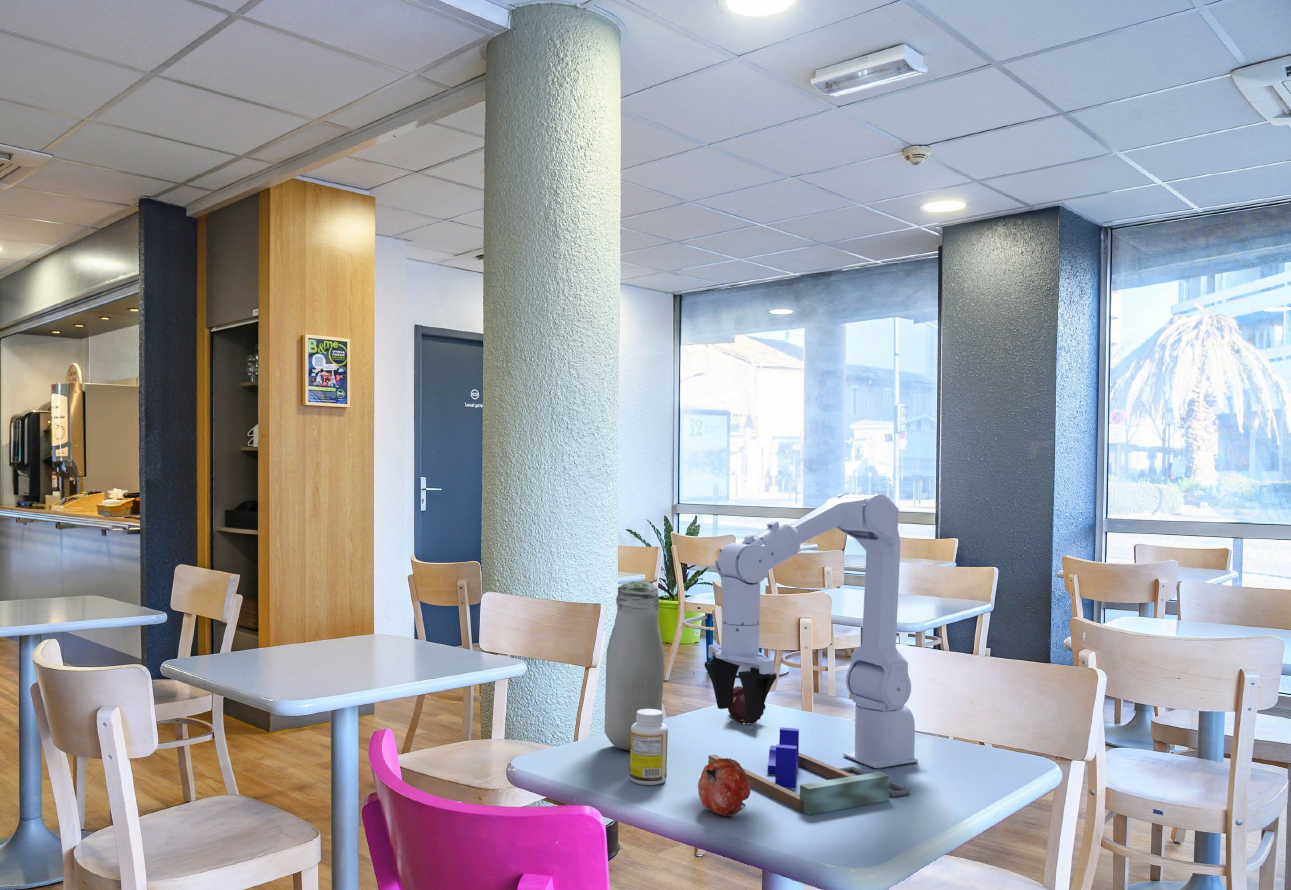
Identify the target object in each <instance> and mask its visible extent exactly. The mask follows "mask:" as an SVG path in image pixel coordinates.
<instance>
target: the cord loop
mask: <svg viewBox="0 0 1291 890" xmlns="http://www.w3.org/2000/svg"><path fill="white" fill-rule="evenodd" d="M839 769H840V770H842V771H845V772H847V773H850V772H853V773H856V774H858V775H863V774H869V773H870V772H867V771H865V770H862V769H860V768H857V767H855V766H847V767H842V768H839ZM889 788H891V789H894V790H895V791H892V790H890V789H889V797H892V798H894V797H900V796H905V795H907V796H908V795H909V794H911V790H910V789H909V788H907V787H905V786H902V785H900V784H897V783H894V782H892V781H890V780H889Z"/></svg>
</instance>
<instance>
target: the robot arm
mask: <svg viewBox="0 0 1291 890" xmlns="http://www.w3.org/2000/svg"><path fill="white" fill-rule="evenodd" d="M899 511H900V510H899V508H898V506H896V504H895V503H894V502H893V501H892V499H890V497H888V496H887V495H885V494H881V493H879V494H850V493H840V494H838V495H837V496H836V497H831V498H828V499H827V501H826V502H825V503H824V504H822V505H820V506H819V507H816V508H815V509H814V510H812V511H811V512H808V513H807V514H806V515H804V516H802V517H800V518H799V519H797V520H795V521H794V522H792V523H791V524H789V523H786V522H784V521H774V520H773V521H770V522H768V523H767V524H766V527H767V528H765V529H763V530H762V531H759V532H758V533H755V534H754V535H753V534H747V535H746V536H744V540H743V541H742V542H741V543H737V542H735V543H734V542H732V543H728V544H726V545H725V546H723V548H722V550H721V551H720V552H719V555H718V558H717V560H715V561H714V566H715V570H716V573H717V574H718V575H719V577H720V587H721V588H722V590H721V591H722V599H721V601H722V602H721V641H720V642H721V643H720V644H709V645H708V649H707V650H708V653H707V654H708V658H710V659H711V660H710V661H709V660H708V661H705V662H704V668H705V669H706V671H707V673H708V675H709V679H710V680H711V683H712V684H711V685H712V688H713V691H714V697H715V702H716V706H717V709H719V710H725V709H728V708H731V706H732V702H733V692H734V688H735V683H736V677H737V674H738V677H739V680H740V683H741V687H743V691H744V699H745V714H746V719H747V720H749V721H751V720H757V721H758V720H761V719H762V718H761V717H762V716H761V714H762V711H763V707H764V704H765V703H766V700H767V697H768V694H769V692H770V690H771V688H772V686H773V684H774V683H775V682H776V679H777V675H778V674H777V673H776V672H775V660H774V659H771V658H769V657H767V656H766V655H765V654H762V653H761V652H760V621H761V619H760V618H761V617H760V616H761V615H760V613H761V582H764V580H765V579H766V577H767V576H768V574H769V571H770V570H771V569H773V568H775V567H776V566H778V565H780V564H783V563H784V562H786V561H788V560H789V559H791V558H792V557H795V556H796V555H798V554H799V552H800V550H801V544H802V543H806V542H807V541H809V540H812V539H814V538H815V537H817V536H820V535H822V534H825V533H826V532H828V531H830V530H833V529H835V528H836V530H837V529H838V531H840V532H842V533H844V534H845V535H847V536H849V537H851V538H853V539H855V540H856V541H857V542H858V543H859V545H860V546H861V547H862V548H863V549H864V551H865V553H866V555H865V573H864V575H865V577H864V591H863V592H864V594H863V595H864V596H863V597H864V598H863V611H862V612H863V614H862V615H863V616H862V631H861V632H862V633H861V635H862V638H861V645H860V646H859V647H857V648H856V649H855V650H854V651H853V652H852V653H851V654H850V655H851V657H850V664H849V668H848V670H847V672H846V676H845V684H846V688H847V691H848V692H849V694H850V695H852V703H855V711H854V712H855V713H854V714H855V715H854V716H855V717H854V718H855V719H854V720H855V723H854V727H855V728H854V751H853V750H852V751H847V752H843V754H842V755H843V757H845V758H848V759H850V760H853V761H856V762H858V763H861V764H864V765H866V766H869V767H872V768H874V769H881V768H887V767H894V766H899V765H906V764H913V763H918V762H919V759H918V758H917V757H915V737H916V736H915V735H916V734H915V733H916V732H915V731H916V729H915V728H916V727H915V726H916V725H915V724H916V723H915V717H914V715H913V712H912V711H911V709H910V708H909V707H908V706H907V705H906V703H908V701H909V699H910V697H911V692H912V681H911V678H910V675H909V670H908V669H909V662H908V660H906V658H905V657H904V656H903V655H902V653H901V652H900V651H899V650H898V649H897V646H896V645H897V627H898V609H899V607H898V604H899V587H900V586H899V585H900V584H899V583H900V582H899V581H900V566H901V565H900V562H901V537H900V533H899ZM740 667H743V668H747V669H749V670H747V671H739V668H740Z"/></svg>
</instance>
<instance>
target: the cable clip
mask: <svg viewBox="0 0 1291 890" xmlns="http://www.w3.org/2000/svg"><path fill="white" fill-rule="evenodd" d="M778 742H779V743H778V744H776V745H770V746H769V750H768V761H767V775H771V774H775V775H774V777H775V779H774V780H775V781H774V783H776V784H778V785H780V786H782V787H784V788H786V789H792V788H796V789H797V781H798V780H797V779H798V772H799V765H798V756H799V753H800V752H799V748H800V729H799V728H794V727H779V741H778ZM796 780H797V781H796Z"/></svg>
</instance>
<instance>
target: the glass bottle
mask: <svg viewBox="0 0 1291 890" xmlns="http://www.w3.org/2000/svg"><path fill="white" fill-rule="evenodd" d="M615 600H616V601H615V603H616V606H617V610H616V615H615V619H614V625H613V628H612V630H611V633H610V634H611V635H610V636H609V640H608V644H607V648H606V657H605V658H606V659H605V662H606V663H605V695H604V699H605V700H604V733H605V735H606V737H607V739H608V741H609V742H610V743H611V744H612V745H613V746H614V747H616V748H617V749H621V750H623V751H631V726H632V725H633V724H634V723H636V720H637V719H636V715H637V711H638V710H640V709H656V710H660V711H662V712H663V693H664V692H663V691H664V690H663V689H664V676H665V659H666V658H665V651H664V644H663V640H662V635H661V628H660V626H659V618H658V617H659V614H658V611H659V604H660V602H659V601H660V597H659V588H657V587H656V585H655V584H653V583H651V582H650V581H638V580H637V581H636V580H634V581H628V582H624V583H622V584H621V585H620V586H618V587H617V595H616V598H615Z"/></svg>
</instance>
